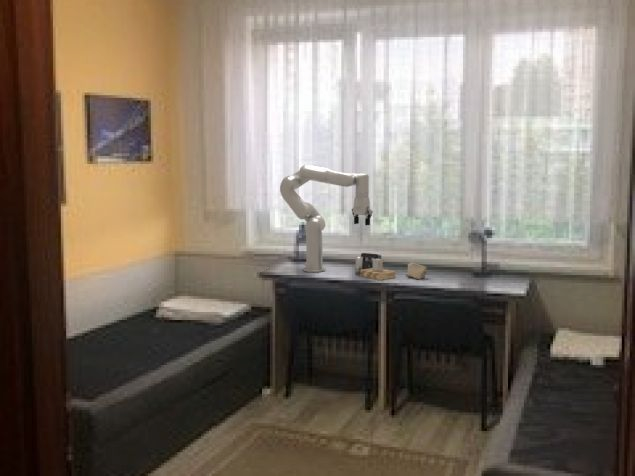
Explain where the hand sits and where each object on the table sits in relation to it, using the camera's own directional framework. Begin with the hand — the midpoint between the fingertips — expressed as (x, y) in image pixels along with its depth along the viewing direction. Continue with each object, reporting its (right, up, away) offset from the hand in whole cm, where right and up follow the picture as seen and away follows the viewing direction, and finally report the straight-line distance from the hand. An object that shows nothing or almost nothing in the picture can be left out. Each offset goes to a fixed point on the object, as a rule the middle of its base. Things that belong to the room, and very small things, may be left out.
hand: (361, 224), depth 399 cm
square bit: (+8, -30, -10) cm, 33 cm away
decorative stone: (+29, -31, -13) cm, 44 cm away
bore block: (+8, -30, -10) cm, 33 cm away
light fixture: (+7, -27, +11) cm, 30 cm away
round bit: (-2, -29, -2) cm, 29 cm away
